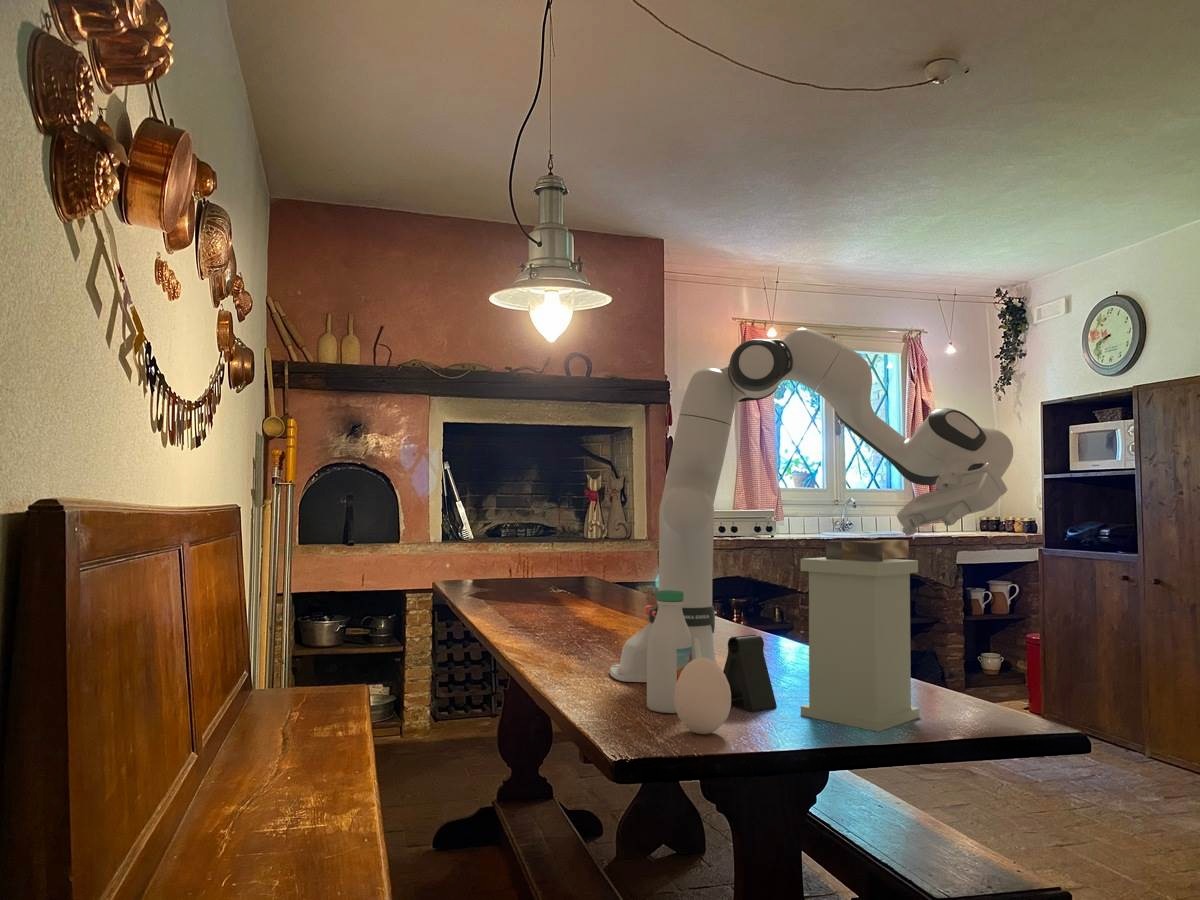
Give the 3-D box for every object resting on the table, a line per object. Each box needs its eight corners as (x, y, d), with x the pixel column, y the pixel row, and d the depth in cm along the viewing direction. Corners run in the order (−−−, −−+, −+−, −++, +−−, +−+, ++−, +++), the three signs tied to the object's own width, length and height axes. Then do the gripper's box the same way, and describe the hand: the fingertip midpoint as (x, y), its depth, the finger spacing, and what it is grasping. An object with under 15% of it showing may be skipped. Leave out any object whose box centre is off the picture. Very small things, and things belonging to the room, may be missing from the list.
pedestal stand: (843, 702, 154) (843, 556, 156) (919, 717, 144) (917, 560, 146) (800, 715, 144) (800, 558, 146) (878, 731, 134) (877, 563, 136)
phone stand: (776, 708, 149) (776, 638, 150) (752, 712, 146) (752, 640, 146) (739, 698, 156) (739, 631, 157) (715, 702, 153) (715, 634, 154)
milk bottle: (661, 716, 142) (662, 593, 144) (638, 706, 149) (639, 589, 150) (700, 711, 146) (701, 592, 147) (676, 702, 153) (677, 588, 154)
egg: (671, 726, 136) (671, 652, 137) (726, 726, 136) (726, 653, 137) (677, 740, 127) (677, 662, 128) (735, 741, 128) (735, 663, 128)
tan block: (877, 555, 159) (877, 539, 160) (924, 558, 153) (924, 541, 153) (825, 558, 147) (825, 541, 147) (875, 561, 140) (874, 543, 141)
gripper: (911, 486, 174) (875, 525, 167) (996, 459, 156) (961, 501, 149) (928, 512, 174) (894, 551, 167) (1015, 488, 157) (981, 530, 149)
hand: (926, 527), depth 158 cm, fingers open, 8 cm apart
